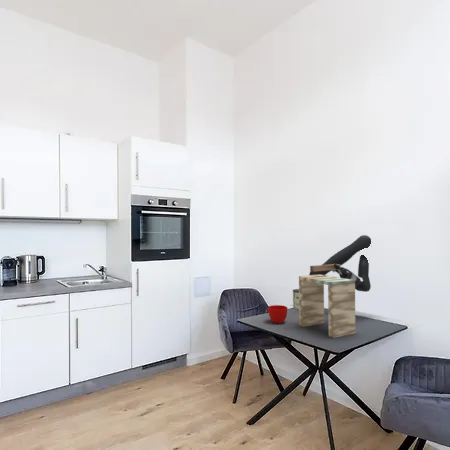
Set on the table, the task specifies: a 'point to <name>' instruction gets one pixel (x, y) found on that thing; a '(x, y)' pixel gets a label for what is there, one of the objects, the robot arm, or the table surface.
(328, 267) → the batten
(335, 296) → the bench
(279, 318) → the ceramic cup
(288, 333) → the table surface
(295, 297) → the coffee can
